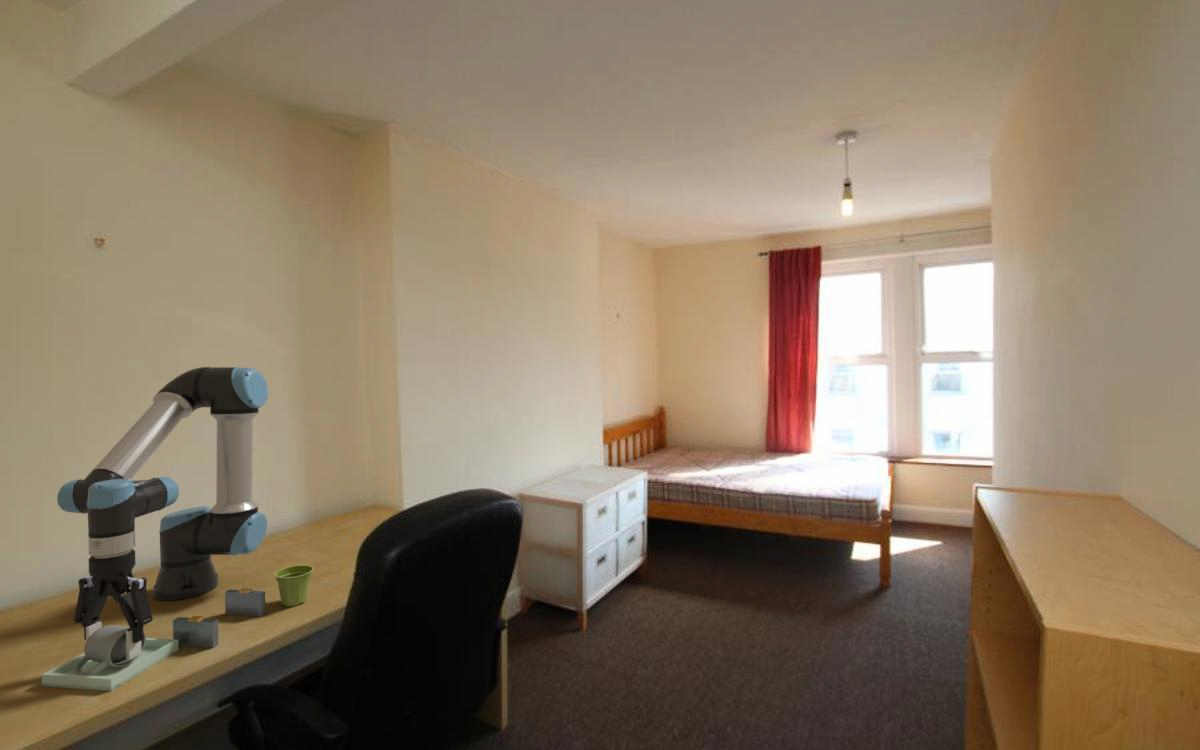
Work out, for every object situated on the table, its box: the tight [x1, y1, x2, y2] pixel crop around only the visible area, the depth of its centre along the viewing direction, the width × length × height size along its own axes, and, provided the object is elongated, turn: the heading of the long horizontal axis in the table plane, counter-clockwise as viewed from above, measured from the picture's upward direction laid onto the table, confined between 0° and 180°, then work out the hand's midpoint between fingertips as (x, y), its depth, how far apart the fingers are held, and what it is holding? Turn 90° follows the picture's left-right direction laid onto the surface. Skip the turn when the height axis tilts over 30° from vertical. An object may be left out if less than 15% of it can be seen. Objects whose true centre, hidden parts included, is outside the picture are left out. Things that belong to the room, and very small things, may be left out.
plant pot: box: [274, 564, 314, 607], centre depth 150 cm, size 9×9×9 cm
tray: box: [41, 637, 179, 692], centre depth 118 cm, size 16×16×2 cm
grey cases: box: [172, 587, 266, 649], centre depth 135 cm, size 10×17×6 cm, turn 175°
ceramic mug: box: [74, 624, 147, 676], centre depth 116 cm, size 11×8×8 cm
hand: (114, 655), depth 118 cm, fingers open, 9 cm apart
